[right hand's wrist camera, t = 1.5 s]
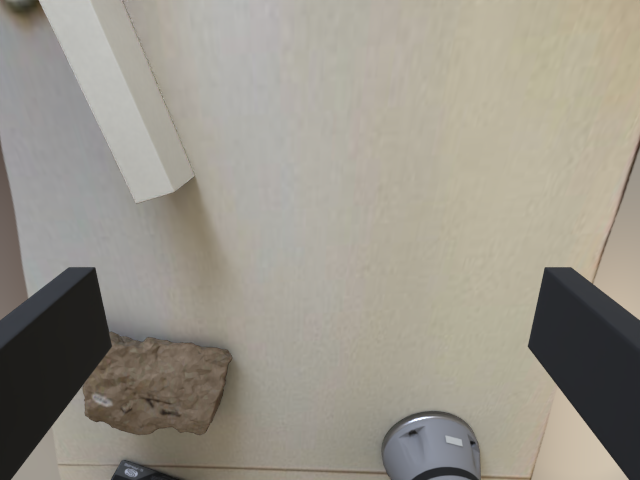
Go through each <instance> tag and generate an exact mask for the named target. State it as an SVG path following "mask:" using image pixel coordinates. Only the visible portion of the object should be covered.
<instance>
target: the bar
mask: <svg viewBox="0 0 640 480" xmlns="http://www.w3.org/2000/svg"><path fill="white" fill-rule="evenodd" d="M39 2H40V4H41V6H42V8H43V10H44V12H45V14H46V16H47V18H48V20H49V23H50V25H51V27H52V29H53V31H54V33H55V35H56V37H57V39H58V41H59V44H60V46H61V48H62V50H63V52H64V54H65V56H66V58H67V60H68V62H69V64H70V67H71V69H72V71H73V73H74V75H75V77H76V79H77V81H78V83H79V85H80V87H81V90H82V92H83V94H84V96H85V98H86V100H87V102H88V104H89V106H90V108H91V110H92V113H93V115H94V117H95V119H96V121H97V123H98V125H99V127H100V129H101V131H102V133H103V136H104V138H105V140H106V142H107V144H108V146H109V148H110V150H111V152H112V154H113V157H114V159H115V161H116V163H117V165H118V167H119V169H120V171H121V173H122V175H123V177H124V180H125V182H126V184H127V186H128V188H129V190H130V192H131V194H132V196H133V198H134V200H135V203H136V204H138V203H141V202H144V201H148V200H151V199H154V198H157V197H161V196H164V195H167V194H170V193H174V192H175V191H176V190H178V189H179V188H180V187H181V186H183V185H184V184H185V183H186V182H188V181H189V180H190V179H191V178H193V177H194V176H195V175H194V172H193V170H192V168H191V165H190V163H189V160H188V158H187V156H186V153H185V151H184V148H183V146H182V144H181V141H180V139H179V136H178V134H177V131H176V129H175V127H174V124H173V122H172V119H171V117H170V115H169V112H168V110H167V107H166V105H165V103H164V100H163V98H162V95H161V93H160V91H159V88H158V86H157V83H156V81H155V79H154V76H153V74H152V71H151V69H150V67H149V64H148V62H147V59H146V57H145V55H144V52H143V50H142V47H141V45H140V42H139V40H138V38H137V35H136V33H135V30H134V28H133V26H132V23H131V21H130V18H129V16H128V14H127V11H126V9H125V6H124V4H123V2H122V0H39Z"/></svg>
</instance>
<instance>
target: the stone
mask: <svg viewBox="0 0 640 480" xmlns="http://www.w3.org/2000/svg"><path fill="white" fill-rule="evenodd" d="M109 335H110V339H111V344H112V347H111V349H110V350H109V351H108V353H107V354H106V355H105V357H104V358H103V359H102V361H101V362H100V363H99V365H98V366H97V367H96V368H95V370H94V371H93V372H92V374H91V375H90V376H89V378H88V379H87V380H86V382H85V383H84V385H83V393H84V396H85V399H84V401H85V416H87V417H89V419H91V420H93V421H95V422H99V421H102V422H105V423H107V424H109V425H110V426H111V427H112V428H116V429H119V430H121V431H125V432H129V433H132V434H137V435H145V434H150V433H153V432H154V431H155V430H157V429H159V428H167V427H173V428H175V429H177V430H178V431H179V432H180V433H182V432H191V433H195V434H197V435H202V434H204V433H205V432H206V431H207V429H208V427H209V425H210V423H211V422H212V421H213V417H214V415H215V413H216V411H217V409H218V406H219V404H220V401H221V398H222V396H223V391H224V390H223V387H224V385H225V381H226V380H225V378H226V374H227V368H228V363H229V362H230V361H231V360H232V355H231V354H230V353H229V351H228V350H226V349H219V348H213V347H200V346H197V345H195V344H193V343H172V342H169V341H168V340H158V339H156V338H149V337H148V338H146V339H145V340H144V342H140V341H137V340H132V339H131V338H129V337H126V336H122V337H121V336H119V335H118V334H115V333H113V332H109Z"/></svg>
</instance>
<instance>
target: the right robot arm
mask: <svg viewBox="0 0 640 480" xmlns="http://www.w3.org/2000/svg"><path fill="white" fill-rule="evenodd" d="M111 347H112V344H111V339H110V335H109V330H108V325H107V321H106V316H105V311H104V307H103V302H102V297H101V293H100V288H99V283H98V279H97V274H96V269H95V267H69V268H67V269H66V270H65V271H64V272H62V273H61V274H60V275H58V276H57V277H56V278H55V279H53V280H52V281H51V282H49V283H48V284H47V285H45V286H44V287H43V288H42V289H40V290H39V291H38V292H36V293H35V294H34V295H33V296H31V297H30V298H29V299H27V300H26V301H25V302H24V303H22V304H21V305H20V306H18V307H17V308H16V309H14V310H13V311H12V312H11V313H9V314H8V315H7V316H5V317H4V318H3V319H2V320H0V480H11V479H12V478H13V476H14V475H15V474H16V472H17V471H18V470H19V468H20V467H21V466H22V464H23V463H24V462H25V460H26V459H27V458H28V457H29V455H30V454H31V453H32V451H33V450H34V449H35V447H36V446H37V445H38V443H39V442H40V441H41V439H42V438H43V437H44V435H45V434H46V433H47V431H48V430H49V429H50V428H51V426H52V425H53V424H54V422H55V421H56V420H57V418H58V417H59V416H60V414H61V413H62V412H63V411H64V409H65V408H66V407H67V405H68V404H69V403H70V401H71V400H72V399H73V397H74V396H75V395H76V393H77V392H78V391H79V389H80V388H81V387H82V386H83V384H84V383H85V382H86V380H87V379H88V378H89V376H90V375H91V374H92V372H93V371H94V370H95V368H96V367H97V366H98V365H99V363H100V362H101V361H102V359H103V358H104V357H105V355H106V354H107V353H108V351H109V350H110V349H111ZM528 347H529V349H530V350H531V351H532V353H533V354H534V355H535V357H536V358H537V359H538V361H539V362H540V363H541V365H542V366H543V367H544V368H545V370H546V371H547V372H548V374H549V375H550V376H551V378H552V379H553V380H554V382H555V383H556V384H557V386H558V387H559V388H560V389H561V391H562V392H563V393H564V395H565V396H566V397H567V399H568V400H569V401H570V403H571V404H572V405H573V407H574V408H575V409H576V411H577V412H578V413H579V414H580V416H581V417H582V418H583V420H584V421H585V422H586V424H587V425H588V426H589V428H590V429H591V430H592V432H593V433H594V434H595V435H596V437H597V438H598V439H599V441H600V442H601V443H602V445H603V446H604V447H605V449H606V450H607V451H608V453H609V454H610V455H611V457H612V458H613V459H614V460H615V462H616V463H617V464H618V466H619V467H620V468H621V470H622V471H623V472H624V474H625V475H626V476H627V478H628V479H629V480H640V320H639V319H637V318H636V317H635V316H633V315H632V314H631V313H629V312H628V311H627V310H626V309H624V308H623V307H622V306H620V305H619V304H618V303H617V302H615V301H614V300H613V299H611V298H610V297H609V296H607V295H606V294H605V293H604V292H602V291H601V290H600V289H598V288H597V287H596V286H595V285H593V284H592V283H591V282H589V281H588V280H587V279H585V278H584V277H583V276H582V275H580V274H579V273H578V272H576V271H575V270H574V269H572V268H571V267H545V269H544V274H543V279H542V283H541V288H540V293H539V297H538V302H537V306H536V311H535V316H534V320H533V325H532V330H531V334H530V339H529V344H528ZM382 458H383V464H384V467H385V469H386V472H387V474H388V476H389V477H390V479H391V480H481V470H480V450H479V445H478V442H477V439H476V437H475V435H474V432H473V431H472V429H471V427H470V426H469V425H468V424H467V423H466V422H465V421H463V420H462V419H461V418H459V417H457V416H454V415H452V414H449V413H445V412H436V411H430V412H422V413H417V414H414V415H411V416H408V417H406V418H404V419H402V420H401V421H399V422H398V423H396V424H395V425H394V426H393V427H392V428H391V429H390V430H389V431H388V433H387V434H386V436H385V438H384V440H383V443H382Z"/></svg>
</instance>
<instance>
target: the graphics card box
mask: <svg viewBox="0 0 640 480" xmlns="http://www.w3.org/2000/svg"><path fill="white" fill-rule="evenodd" d="M111 480H179V479H176V478H173V477H170V476H167V475H165V474H162V473H159V472H156V471H154V470H151V469H148V468H145V467H142V466H140V465H137V464H134V463H131V462H129V461H126V460H123V461H121V463H120V465H119V466H118V468H117V470H116V472H115V473H114V475H113V477H112V479H111Z"/></svg>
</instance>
